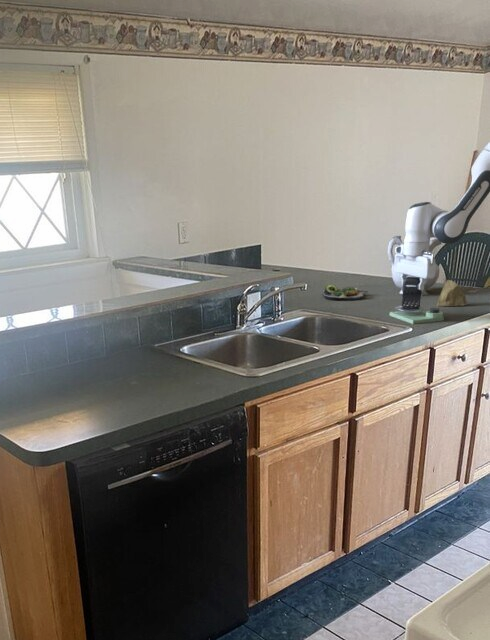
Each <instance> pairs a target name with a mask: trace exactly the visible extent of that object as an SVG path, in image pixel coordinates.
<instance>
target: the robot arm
mask: <svg viewBox="0 0 490 640" xmlns="http://www.w3.org/2000/svg"><path fill="white" fill-rule="evenodd" d="M470 169H471V170H470V173H471V182H470V186H469V188H467V191H466V192H465V193H464V195H463V196H462V198H461V199H460V200H459V202H458V203H457V204H456V206H455V207H454V208H453V209H452V210H451V211H449V210H446V209H442V208H440V207H438V206H436V205H435V204H433V203H432V202H430V201H424V202H423V201H422V202H418V203H414V204H413V205H411V206H410V207H409V208H408V209H407V213H406V218H405V225H404V231H405V236H404V240H403V243H404V244H403V245H398V246H396V247H395V248H394V252H395V253H396V254H395V255H394V259H395V261H394V269H395V272H398V273H401V279H402V285H403V281H404V279H405V278H406V277H407V276H408V275H411V276H415V277H420V284H419V285H418V288H417V289H418V290H423V289H424V285H425V283H426V281H427V279H431V278H434V276H435V269H436V264H437V263H436V257H435V255H434V253H433V251H432V252H429V245H430V239H431V238H437V239H438V240H439V241H440V242H441V244H444V245H445V244H446V245H452V244H455V243H457V242H459V241H461V240H462V239H463V237H464V236H465V235H466V232H467V230H468V226H469V223H470V221H471V220H472V217H473V216H474V214H475V213H476V212H477V211H478V209H479V207H480V206H481V205H482V204H483V202H484V201H485V199H486V198H487V197H488V196H489V194H490V141H489V142H488V143H487V144H486V145H485V146H484V148H483V149H482V151H481V152H480V154H478V156H477V157H476V159H475V161H474V162H473V164H472V166H471V168H470ZM435 263H436V264H435Z"/></svg>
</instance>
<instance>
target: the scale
mask: <svg viewBox="0 0 490 640" xmlns="http://www.w3.org/2000/svg"><path fill="white" fill-rule="evenodd" d="M389 316H390V317H393V318H395V319H398V320H400V321H403V322H407V323H409V324H412V325H418V324H426V323H433V322H442V321H444V319H445V317H444V311H443V310H439V313H430V309H429V310H423V311H420V312H402V311H398V310H396V311H390V312H389Z"/></svg>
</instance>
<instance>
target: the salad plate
mask: <svg viewBox="0 0 490 640" xmlns="http://www.w3.org/2000/svg"><path fill="white" fill-rule="evenodd" d="M368 292H369V291H368V290H359V289H358V287H353V286H352V287H351V286H347V287H346V286H345V287H343V288H342V289H340V288H338V287H337V286H336V285H334V284H331V283H329V284H326V286H325V287H324V290H323V291H322V292H321V293H322V296H323V298H324V299H325V300H328V301H353V300H360V299H361V298H363V297H364V294H366V293H368Z"/></svg>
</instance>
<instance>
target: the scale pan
mask: <svg viewBox="0 0 490 640" xmlns="http://www.w3.org/2000/svg"><path fill="white" fill-rule="evenodd" d="M395 310H396V311H402V312H420V311H423V310H424V307H423V306H421V305H420V308H405V307H402V304H400V305H397V306H395ZM424 311H425V310H424Z"/></svg>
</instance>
